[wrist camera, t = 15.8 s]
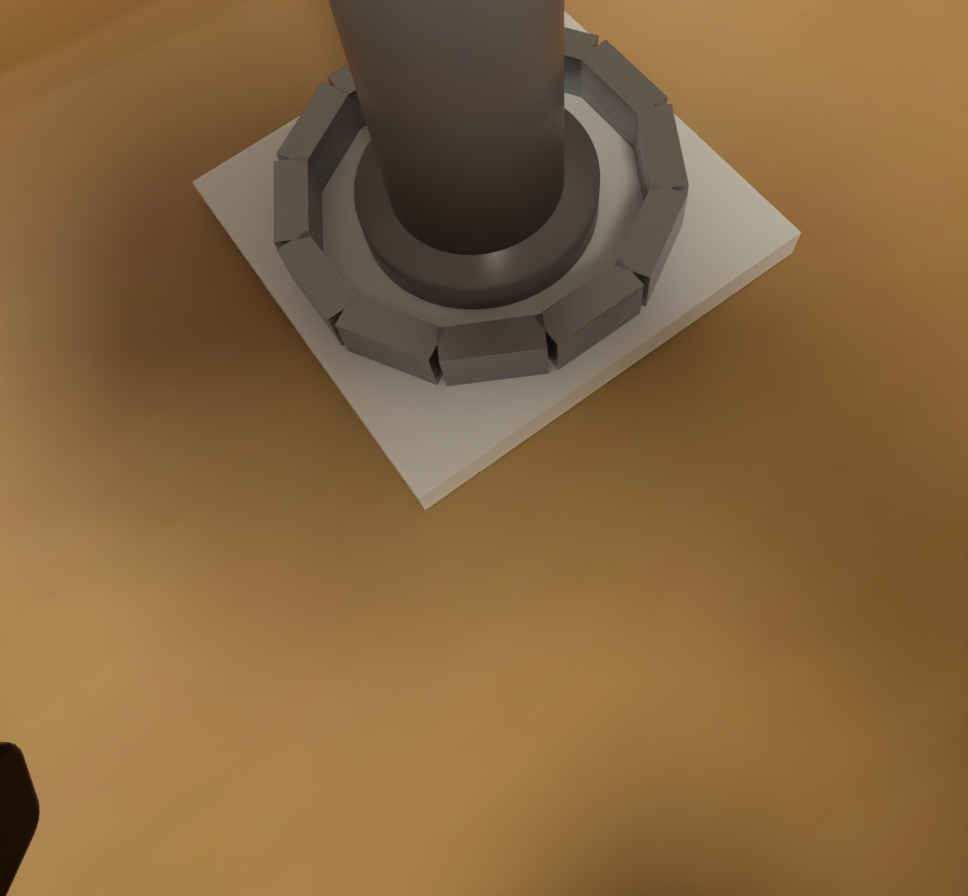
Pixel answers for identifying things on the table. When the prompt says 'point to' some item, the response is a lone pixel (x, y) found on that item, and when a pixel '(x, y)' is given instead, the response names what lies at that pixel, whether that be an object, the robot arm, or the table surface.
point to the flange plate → (507, 329)
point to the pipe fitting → (468, 147)
